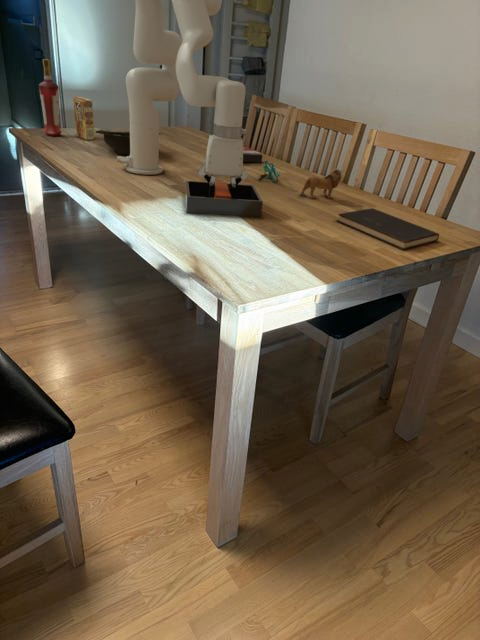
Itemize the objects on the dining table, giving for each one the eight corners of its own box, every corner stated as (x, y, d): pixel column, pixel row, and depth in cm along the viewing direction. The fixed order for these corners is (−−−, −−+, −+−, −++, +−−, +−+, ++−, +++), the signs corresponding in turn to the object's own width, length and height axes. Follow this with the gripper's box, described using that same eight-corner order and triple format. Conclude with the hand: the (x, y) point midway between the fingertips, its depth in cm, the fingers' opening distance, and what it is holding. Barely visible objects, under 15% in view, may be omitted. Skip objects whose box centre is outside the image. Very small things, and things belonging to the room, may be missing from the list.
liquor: (46, 132, 202) (38, 58, 188) (64, 134, 203) (58, 60, 189) (41, 135, 195) (33, 59, 181) (60, 137, 197) (53, 61, 182)
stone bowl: (130, 160, 173) (128, 133, 169) (82, 152, 185) (79, 127, 180) (173, 151, 192) (172, 127, 187) (127, 145, 203) (125, 121, 199)
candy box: (95, 139, 200) (93, 100, 192) (85, 140, 197) (83, 100, 190) (84, 135, 205) (82, 96, 197) (75, 135, 202) (72, 96, 195)
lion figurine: (331, 193, 162) (337, 167, 158) (340, 198, 158) (346, 171, 154) (295, 195, 156) (300, 167, 152) (304, 200, 152) (309, 171, 148)
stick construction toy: (284, 177, 166) (272, 158, 163) (268, 189, 165) (256, 169, 163) (273, 178, 177) (262, 160, 174) (258, 189, 176) (247, 171, 174)
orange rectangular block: (215, 207, 131) (216, 195, 129) (211, 194, 141) (212, 182, 139) (230, 209, 132) (231, 196, 130) (225, 195, 142) (227, 183, 140)
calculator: (263, 153, 192) (231, 151, 185) (261, 164, 194) (230, 163, 187) (249, 147, 200) (218, 145, 192) (247, 157, 202) (217, 156, 194)
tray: (186, 214, 128) (187, 196, 126) (184, 196, 142) (185, 180, 140) (260, 218, 132) (262, 201, 129) (252, 200, 146) (253, 185, 143)
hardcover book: (402, 250, 121) (405, 241, 120) (336, 221, 136) (338, 213, 135) (437, 241, 130) (440, 233, 129) (371, 215, 145) (373, 207, 144)
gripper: (255, 132, 131) (247, 197, 141) (195, 126, 129) (191, 193, 138) (259, 137, 125) (251, 205, 134) (196, 131, 122) (192, 201, 132)
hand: (220, 198), depth 136 cm, fingers closed on orange rectangular block, 4 cm apart
